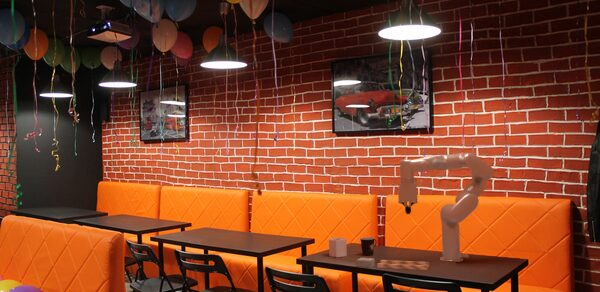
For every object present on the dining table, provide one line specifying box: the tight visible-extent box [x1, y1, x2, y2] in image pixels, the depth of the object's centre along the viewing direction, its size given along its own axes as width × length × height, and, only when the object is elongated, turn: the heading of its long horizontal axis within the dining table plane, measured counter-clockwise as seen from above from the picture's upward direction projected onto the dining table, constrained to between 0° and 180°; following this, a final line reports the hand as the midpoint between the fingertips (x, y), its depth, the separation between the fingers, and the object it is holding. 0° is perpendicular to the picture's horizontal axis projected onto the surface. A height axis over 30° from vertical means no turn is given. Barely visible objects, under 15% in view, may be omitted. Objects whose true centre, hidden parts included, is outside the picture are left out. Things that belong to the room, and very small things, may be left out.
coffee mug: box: [359, 236, 378, 257], centre depth 322 cm, size 12×9×10 cm
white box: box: [328, 237, 348, 258], centre depth 321 cm, size 11×12×10 cm
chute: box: [376, 259, 430, 271], centre depth 283 cm, size 26×10×3 cm, turn 70°
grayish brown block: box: [356, 257, 376, 269], centre depth 291 cm, size 8×6×4 cm
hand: (408, 213), depth 298 cm, fingers closed
